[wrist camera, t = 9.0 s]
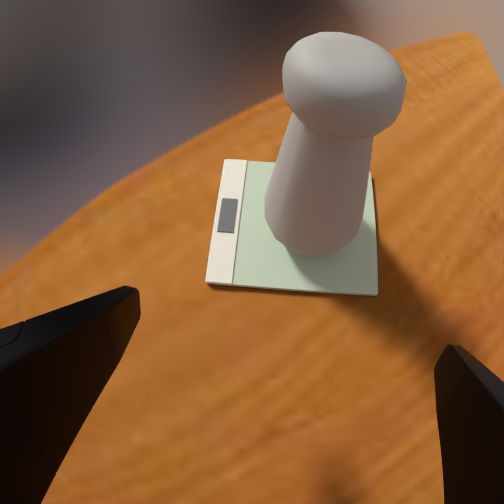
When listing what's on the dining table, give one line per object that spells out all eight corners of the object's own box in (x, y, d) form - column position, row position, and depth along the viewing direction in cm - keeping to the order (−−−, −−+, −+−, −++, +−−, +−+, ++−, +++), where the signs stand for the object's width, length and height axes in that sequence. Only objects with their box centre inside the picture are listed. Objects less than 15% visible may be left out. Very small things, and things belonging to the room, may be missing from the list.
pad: (376, 295, 19) (379, 293, 19) (206, 283, 20) (205, 280, 19) (369, 175, 22) (371, 170, 22) (225, 163, 23) (224, 158, 22)
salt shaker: (357, 197, 21) (424, 38, 9) (346, 277, 19) (448, 138, 7) (273, 179, 22) (278, 5, 10) (253, 256, 20) (238, 88, 8)
